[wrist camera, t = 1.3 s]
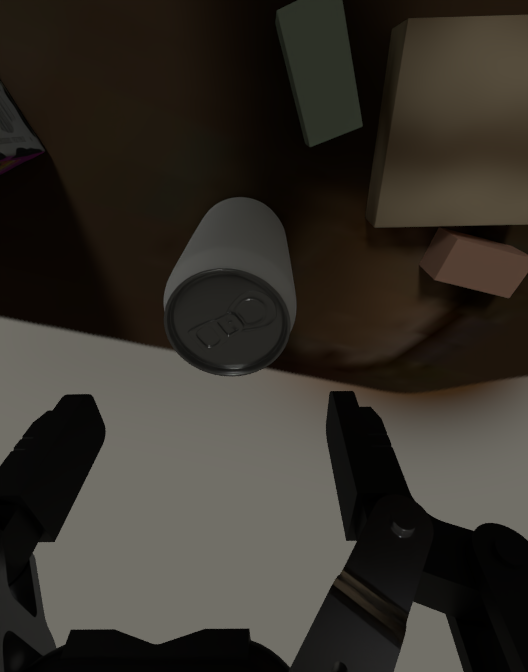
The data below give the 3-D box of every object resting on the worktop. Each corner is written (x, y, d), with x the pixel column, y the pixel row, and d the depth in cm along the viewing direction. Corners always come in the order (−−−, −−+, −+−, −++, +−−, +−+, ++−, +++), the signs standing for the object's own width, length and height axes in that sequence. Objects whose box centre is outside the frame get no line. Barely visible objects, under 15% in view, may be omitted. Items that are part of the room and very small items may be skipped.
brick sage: (275, 24, 18) (276, 10, 16) (328, -2, 18) (339, -21, 15) (304, 143, 21) (310, 147, 19) (351, 124, 21) (362, 126, 18)
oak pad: (391, 29, 18) (408, 18, 16) (577, 23, 18) (618, 12, 16) (365, 217, 24) (374, 227, 22) (506, 214, 24) (530, 224, 22)
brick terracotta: (418, 263, 26) (434, 279, 23) (437, 225, 24) (458, 238, 22) (486, 280, 27) (509, 298, 24) (509, 245, 25) (537, 259, 23)
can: (301, 254, 25) (325, 347, 15) (231, 295, 27) (213, 401, 17) (255, 175, 22) (247, 226, 12) (180, 227, 24) (121, 308, 14)
